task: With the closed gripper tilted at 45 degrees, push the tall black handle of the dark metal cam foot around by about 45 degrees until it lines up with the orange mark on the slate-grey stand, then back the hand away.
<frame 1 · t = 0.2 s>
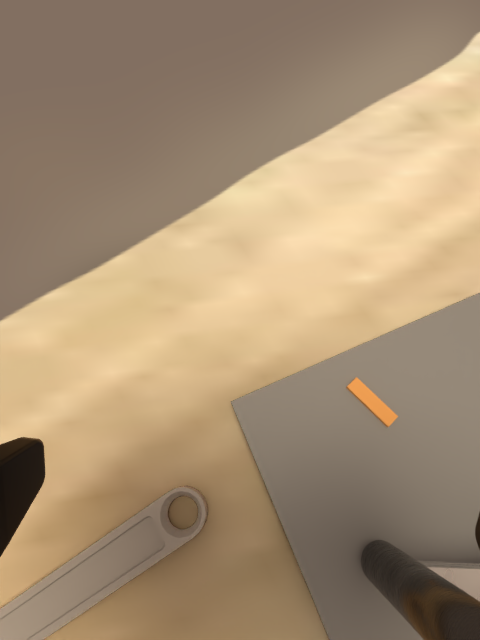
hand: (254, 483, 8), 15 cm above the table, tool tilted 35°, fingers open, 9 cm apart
level stand: (449, 513, 21), on the table
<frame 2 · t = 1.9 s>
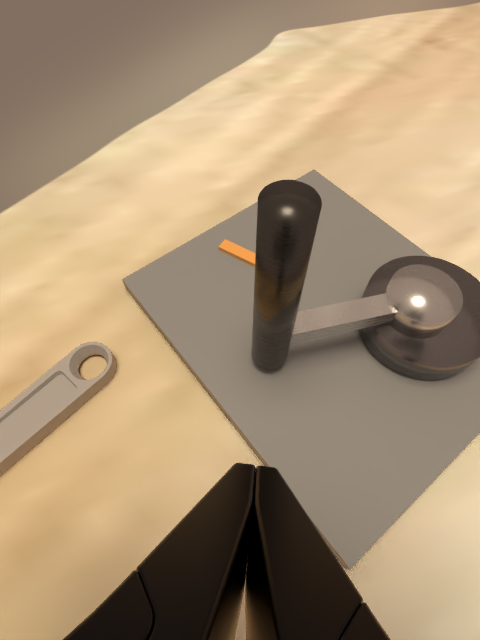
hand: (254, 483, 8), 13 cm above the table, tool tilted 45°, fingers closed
level stand: (324, 321, 25), on the table
cam foot: (412, 285, 17), point 7 cm above the table, hinge at 0.0°
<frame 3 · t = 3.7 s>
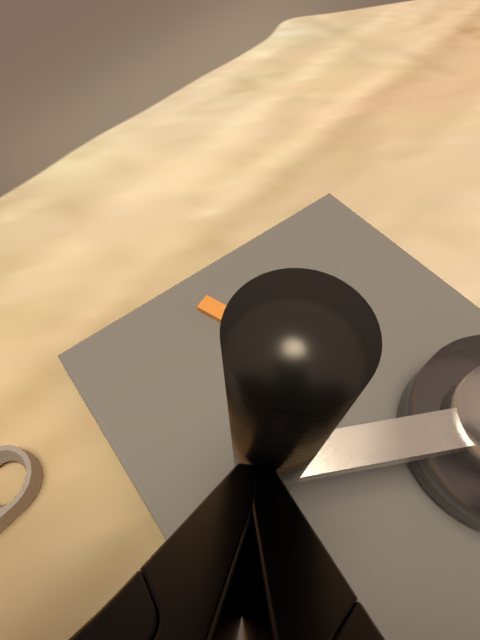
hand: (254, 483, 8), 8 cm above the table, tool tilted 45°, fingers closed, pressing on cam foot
level stand: (346, 420, 17), on the table
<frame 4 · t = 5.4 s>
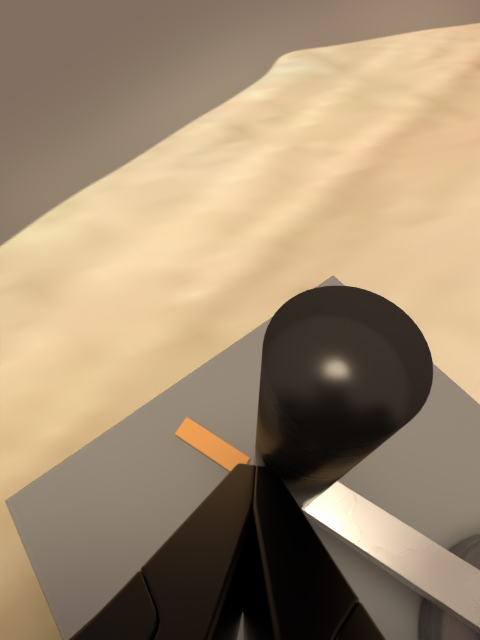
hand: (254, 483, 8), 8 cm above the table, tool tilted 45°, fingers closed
level stand: (355, 588, 14), on the table
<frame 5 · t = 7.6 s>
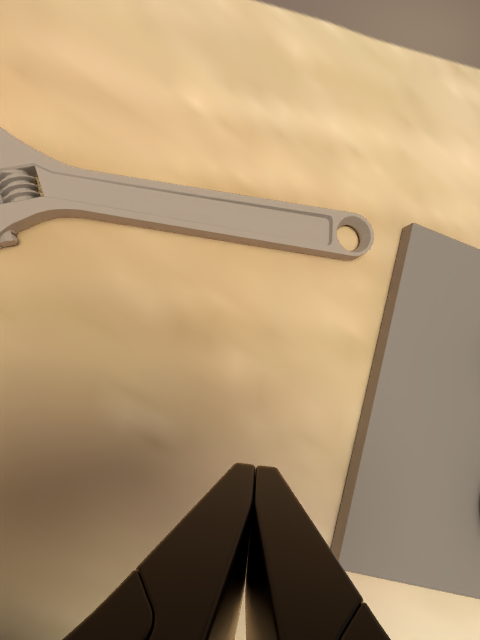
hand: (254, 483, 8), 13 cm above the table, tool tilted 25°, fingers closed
adjustable wrench: (150, 224, 22), on the table
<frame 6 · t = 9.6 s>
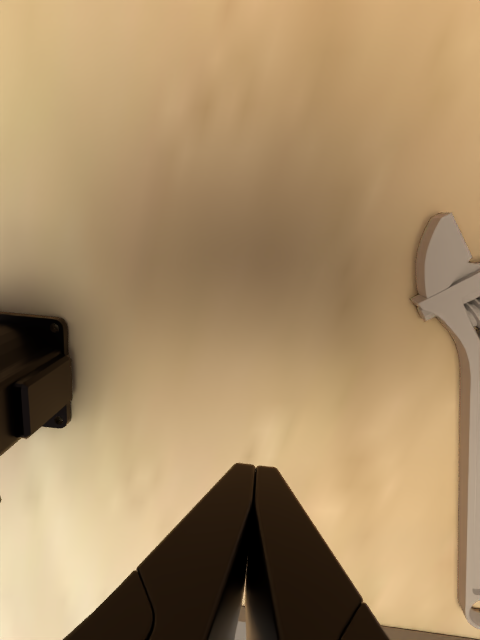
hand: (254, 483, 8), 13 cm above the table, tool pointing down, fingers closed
adjustable wrench: (462, 420, 22), on the table
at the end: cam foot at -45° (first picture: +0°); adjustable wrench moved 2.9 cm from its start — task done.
